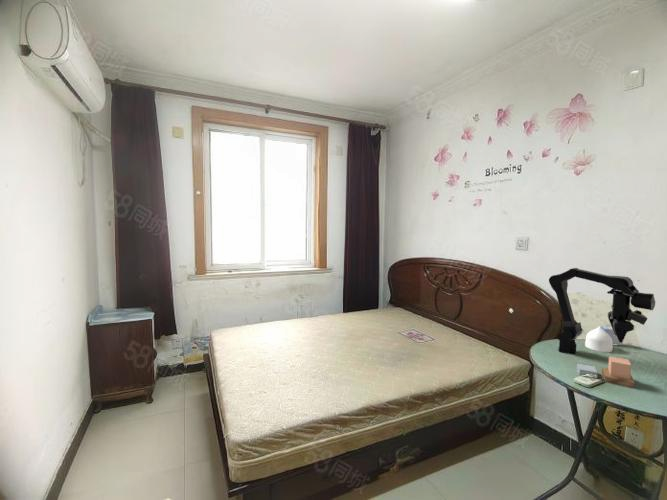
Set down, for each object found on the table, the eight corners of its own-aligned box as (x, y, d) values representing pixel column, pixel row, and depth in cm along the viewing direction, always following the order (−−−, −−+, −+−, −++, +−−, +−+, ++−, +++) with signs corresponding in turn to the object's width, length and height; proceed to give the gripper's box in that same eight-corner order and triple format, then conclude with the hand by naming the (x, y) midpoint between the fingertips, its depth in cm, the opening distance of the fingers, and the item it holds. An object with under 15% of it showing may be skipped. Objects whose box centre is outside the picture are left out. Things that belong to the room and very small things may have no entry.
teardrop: (618, 352, 156) (620, 329, 155) (593, 351, 157) (595, 328, 156) (603, 343, 167) (604, 322, 165) (580, 343, 168) (581, 321, 167)
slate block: (579, 376, 134) (579, 369, 134) (576, 370, 139) (576, 363, 139) (597, 379, 131) (597, 372, 131) (593, 372, 137) (594, 366, 136)
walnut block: (604, 383, 129) (604, 376, 128) (601, 373, 136) (601, 367, 136) (634, 389, 124) (634, 382, 123) (629, 379, 131) (629, 372, 131)
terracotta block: (610, 375, 129) (611, 361, 128) (608, 369, 134) (609, 356, 133) (630, 379, 125) (631, 365, 125) (627, 373, 130) (628, 359, 130)
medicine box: (617, 343, 167) (618, 327, 166) (622, 346, 163) (623, 330, 162) (599, 341, 169) (600, 326, 169) (603, 344, 165) (604, 329, 164)
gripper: (652, 312, 127) (649, 349, 128) (640, 302, 142) (638, 335, 144) (615, 309, 133) (613, 344, 134) (608, 299, 148) (606, 331, 150)
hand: (618, 338), depth 140 cm, fingers open, 9 cm apart
